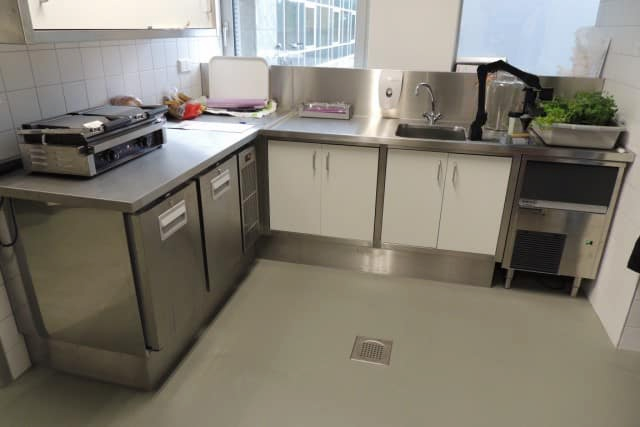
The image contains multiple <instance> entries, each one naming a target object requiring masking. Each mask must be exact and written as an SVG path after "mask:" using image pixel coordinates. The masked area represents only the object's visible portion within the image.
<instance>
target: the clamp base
mask: <svg viewBox="0 0 640 427" xmlns="http://www.w3.org/2000/svg"><path fill="white" fill-rule="evenodd" d="M504 134H506V135H505V137H504V136H503V135H504ZM499 138H500V139H497V143H499V144H500V145H503V146H505V147H507V148H510V147H515V148H516V147H537V146H538V144H537V143H535V142H533V144H528V139H526V138H523V137H511V135H510V134H508V133H507V132H506V131H505V132H501V133H500V136H499Z"/></svg>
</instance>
